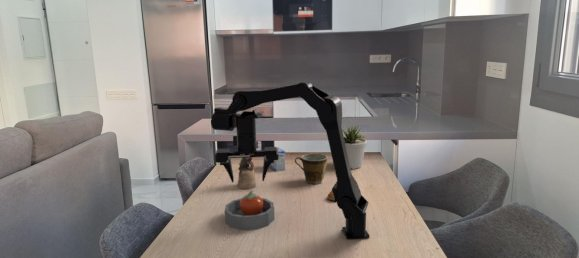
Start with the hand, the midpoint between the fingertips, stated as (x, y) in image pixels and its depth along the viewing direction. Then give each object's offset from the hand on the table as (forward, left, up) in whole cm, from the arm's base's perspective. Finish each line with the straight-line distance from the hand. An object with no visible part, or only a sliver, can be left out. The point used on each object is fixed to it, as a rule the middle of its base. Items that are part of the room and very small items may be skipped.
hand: (248, 181), depth 121 cm
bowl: (0, 0, -12) cm, 12 cm away
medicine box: (+49, -12, -13) cm, 52 cm away
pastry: (+13, -32, -13) cm, 37 cm away
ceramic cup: (+31, -24, -13) cm, 41 cm away
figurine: (+29, +1, -13) cm, 31 cm away
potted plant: (+47, -44, -13) cm, 66 cm away
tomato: (0, -1, -11) cm, 11 cm away
